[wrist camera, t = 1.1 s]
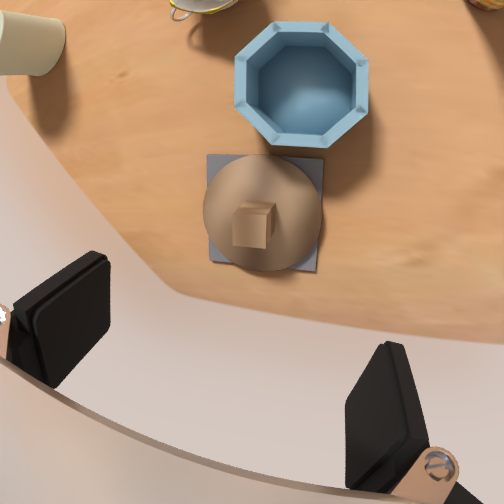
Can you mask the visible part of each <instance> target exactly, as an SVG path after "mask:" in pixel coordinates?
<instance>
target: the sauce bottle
mask: <svg viewBox="0 0 504 504" xmlns="http://www.w3.org/2000/svg"><path fill="white" fill-rule="evenodd" d="M468 1H469V2H470V3H472V4H473V5H475V6H476V7H478V8H481V9H484V10H489V11H492V10H497V9H500V8H503V7H504V0H468Z"/></svg>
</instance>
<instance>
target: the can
mask: <svg viewBox="0 0 504 504" xmlns="http://www.w3.org/2000/svg"><path fill="white" fill-rule="evenodd" d="M65 37H66V33H65V27H64V25H63V23H62V22H61V21H60V20H59V19H56V18H45V17H39V16H34V15H28V14H22V13H16V12H9V11H3V10H0V75H33V76H42V75H45V74H46V73H48V72H49V71H50V70H51V69H52V68H53V67H54V66H55V64H56V63H57V61H58V60H59V58H60V56H61V54H62V51H63V48H64V44H65Z"/></svg>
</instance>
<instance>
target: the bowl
mask: <svg viewBox="0 0 504 504" xmlns="http://www.w3.org/2000/svg"><path fill="white" fill-rule="evenodd" d="M368 80H369V69H368V60H367V59H366V58H365V57H364V56H363V55H362V54H361V53H360V52H359V51H358V50H357V49H356V48H355V47H354V46H353V45H352V44H351V43H350V42H349V41H348V40H347V39H346V38H345V37H344V36H343V35H342V34H341V33H340V32H338V31H337V30H336V29H335V28H334V27H333V26H332V25H331V24H330V23H327V22H299V21H279V22H272V23H271V24H270V25H269V26H268V27H266V28H265V29H264V30H263V31H262V32H261V33H260V34H259V35H257V36H256V37H255V38H254V39H253V40H252V41H251V42H250V43H249V44H248V45H247V46H245V47H244V48H243V49H242V50H241V51H240V52H239V53H238V54H237V55H236V56H235V79H234V107H235V108H236V109H237V110H238V111H239V112H240V113H241V114H242V115H243V116H244V117H245V118H246V119H247V120H248V121H249V122H250V123H251V124H252V125H253V126H254V127H255V128H256V129H257V130H258V131H259V132H260V133H261V134H262V135H263V136H264V138H265V139H266V140H267V141H268V142H269V143H270V144H271V145H284V146H302V147H317V148H328V147H329V146H330V145H331V144H333V143H334V142H335V141H336V140H337V139H338V138H340V137H341V136H342V135H343V134H344V133H345V132H347V131H348V130H349V129H350V128H351V127H352V126H354V125H355V124H356V123H357V122H358V121H359V120H361V119H362V118H363V117H364V116H365V115H367V114H368ZM350 110H351V111H350Z"/></svg>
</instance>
